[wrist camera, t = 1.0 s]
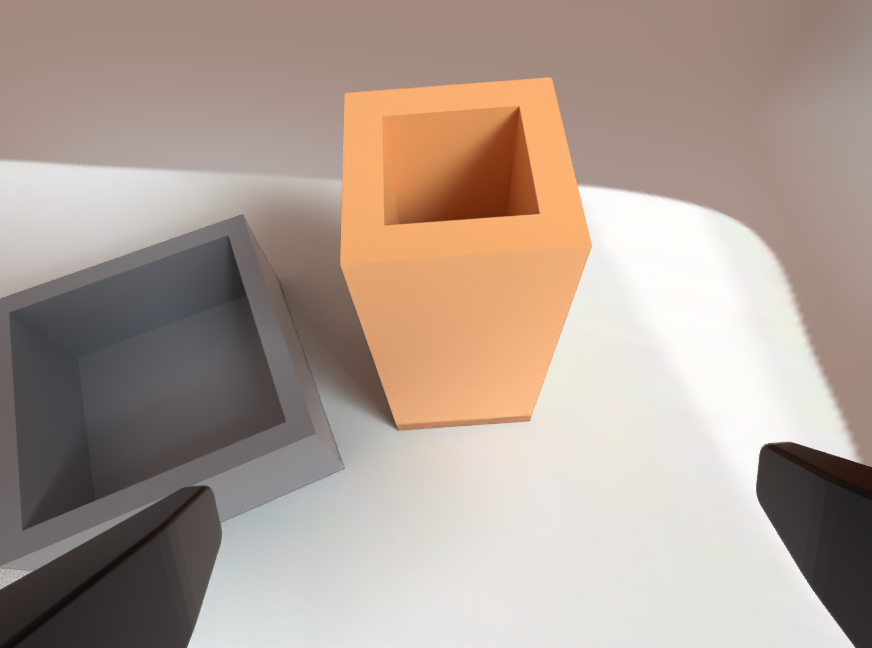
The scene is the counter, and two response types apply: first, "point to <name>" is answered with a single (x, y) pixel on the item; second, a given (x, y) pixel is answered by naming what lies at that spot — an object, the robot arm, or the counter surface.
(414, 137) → the orange hollow square block
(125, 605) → the robot arm
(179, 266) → the grey crate
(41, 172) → the counter surface
